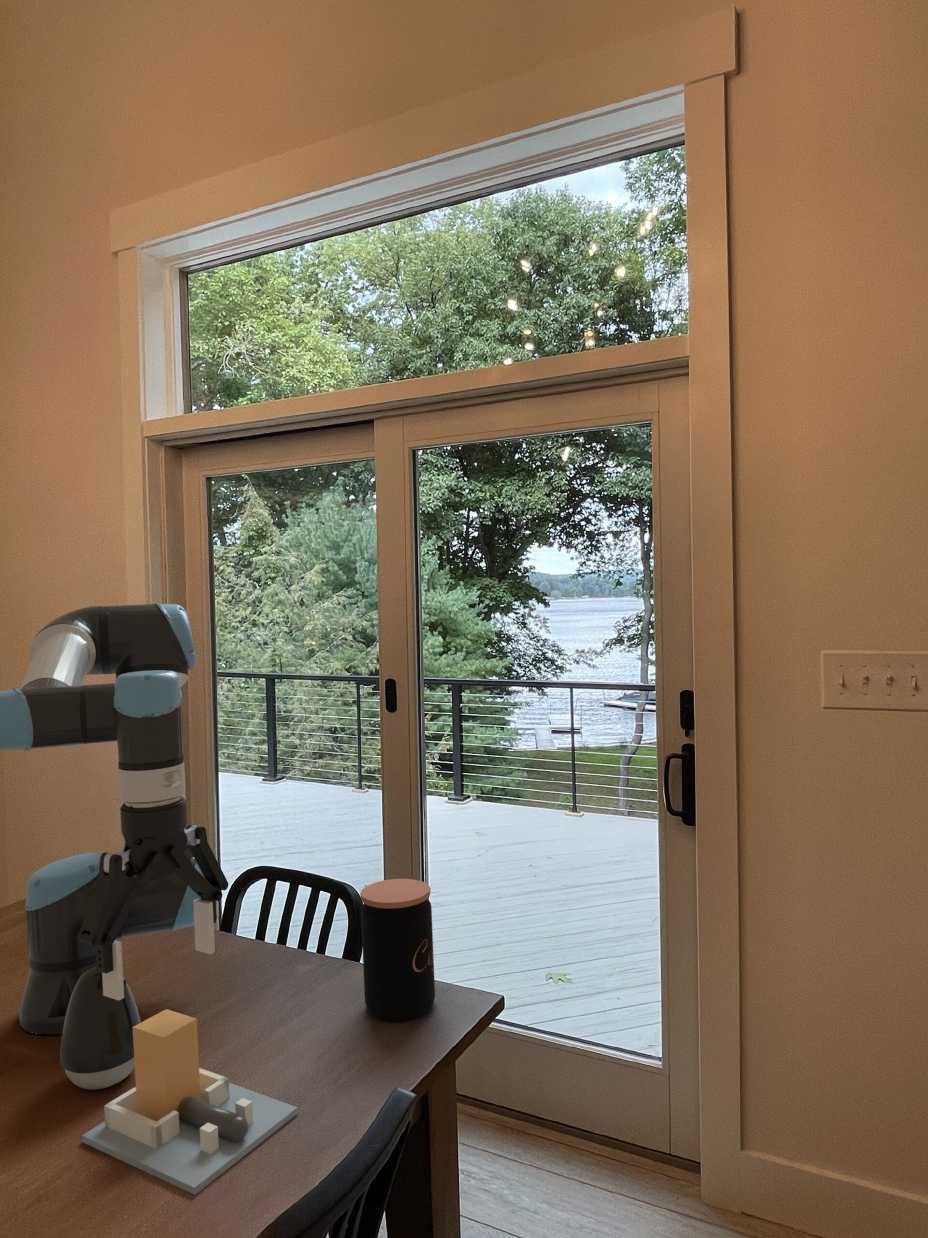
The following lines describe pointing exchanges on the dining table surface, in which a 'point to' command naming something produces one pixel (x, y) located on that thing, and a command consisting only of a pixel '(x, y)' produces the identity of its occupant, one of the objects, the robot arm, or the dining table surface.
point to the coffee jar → (397, 949)
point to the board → (187, 1134)
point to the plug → (176, 1075)
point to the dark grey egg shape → (98, 1034)
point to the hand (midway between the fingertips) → (162, 973)
